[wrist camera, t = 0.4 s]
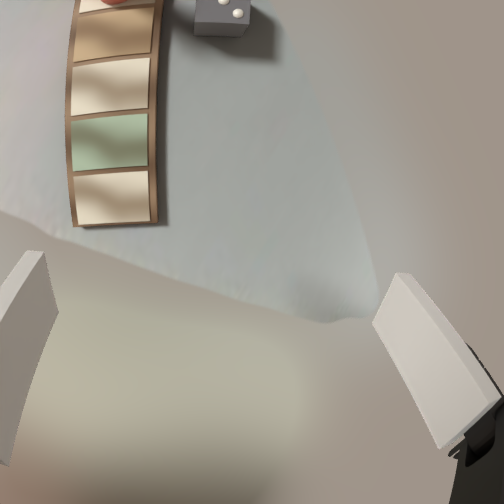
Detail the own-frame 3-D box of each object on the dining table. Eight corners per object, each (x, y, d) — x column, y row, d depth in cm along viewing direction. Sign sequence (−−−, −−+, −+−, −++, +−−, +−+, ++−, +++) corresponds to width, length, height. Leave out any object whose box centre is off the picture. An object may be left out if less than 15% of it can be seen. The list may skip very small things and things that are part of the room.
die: (196, -3, 24) (198, -22, 20) (243, -1, 25) (252, -19, 21) (193, 35, 26) (194, 21, 22) (240, 37, 27) (249, 24, 23)
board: (83, -22, 20) (80, -26, 19) (168, -34, 22) (168, -39, 21) (76, 223, 32) (72, 227, 31) (158, 219, 34) (157, 223, 33)
